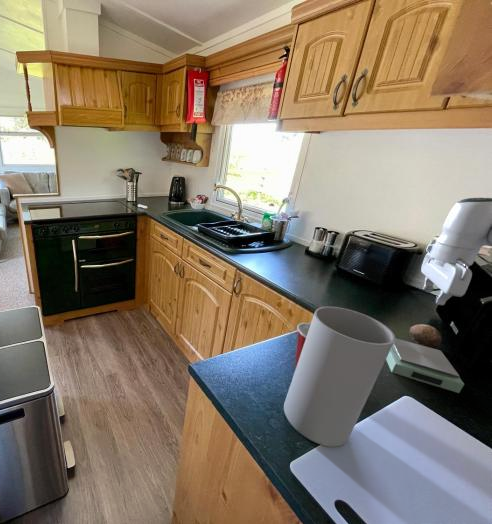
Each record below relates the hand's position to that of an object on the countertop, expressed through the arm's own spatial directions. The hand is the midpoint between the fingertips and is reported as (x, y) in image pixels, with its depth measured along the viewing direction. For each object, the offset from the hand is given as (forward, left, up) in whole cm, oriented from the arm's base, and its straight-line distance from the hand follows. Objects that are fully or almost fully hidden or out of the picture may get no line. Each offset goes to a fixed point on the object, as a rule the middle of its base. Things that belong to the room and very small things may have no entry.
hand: (432, 297), depth 88 cm
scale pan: (+2, +14, -14) cm, 20 cm away
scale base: (+2, +14, -17) cm, 22 cm away
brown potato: (-4, -3, -17) cm, 18 cm away
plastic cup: (+30, +33, -17) cm, 48 cm away
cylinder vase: (+29, +51, -17) cm, 62 cm away
